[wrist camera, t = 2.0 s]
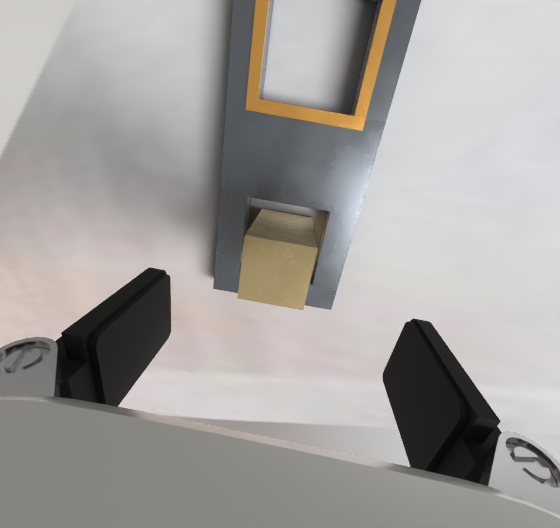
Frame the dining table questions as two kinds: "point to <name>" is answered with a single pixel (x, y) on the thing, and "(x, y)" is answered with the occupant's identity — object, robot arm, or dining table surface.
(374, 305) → the dining table surface
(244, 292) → the brass plug
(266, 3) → the socket plate
